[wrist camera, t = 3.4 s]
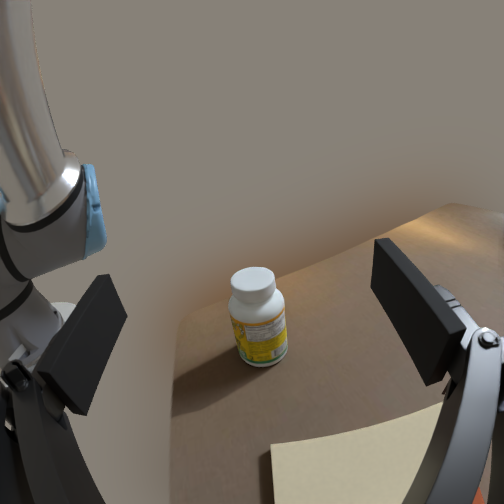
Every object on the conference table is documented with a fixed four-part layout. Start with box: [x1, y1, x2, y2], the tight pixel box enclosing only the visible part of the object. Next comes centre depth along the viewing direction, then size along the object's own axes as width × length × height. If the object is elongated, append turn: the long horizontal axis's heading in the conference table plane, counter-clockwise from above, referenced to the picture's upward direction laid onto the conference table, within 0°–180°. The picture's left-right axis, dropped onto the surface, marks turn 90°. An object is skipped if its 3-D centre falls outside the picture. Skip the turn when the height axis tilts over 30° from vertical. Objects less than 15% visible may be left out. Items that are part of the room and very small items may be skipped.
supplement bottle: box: [229, 267, 288, 367], centre depth 28 cm, size 5×5×10 cm
